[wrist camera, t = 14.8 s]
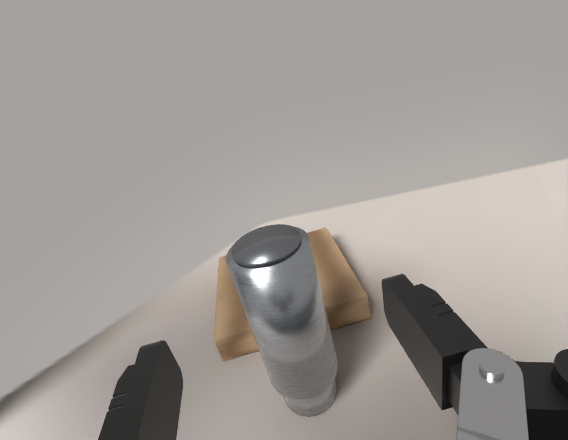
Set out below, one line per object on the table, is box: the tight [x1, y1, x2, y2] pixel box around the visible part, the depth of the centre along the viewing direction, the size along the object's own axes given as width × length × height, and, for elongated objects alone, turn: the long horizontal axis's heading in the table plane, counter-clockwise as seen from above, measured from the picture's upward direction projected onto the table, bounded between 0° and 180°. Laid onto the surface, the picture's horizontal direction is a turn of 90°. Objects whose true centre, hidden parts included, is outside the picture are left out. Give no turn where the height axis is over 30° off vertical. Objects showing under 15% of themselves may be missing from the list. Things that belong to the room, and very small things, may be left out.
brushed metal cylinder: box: [226, 224, 338, 417], centre depth 26 cm, size 6×6×15 cm
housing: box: [214, 228, 371, 361], centre depth 41 cm, size 16×16×3 cm
